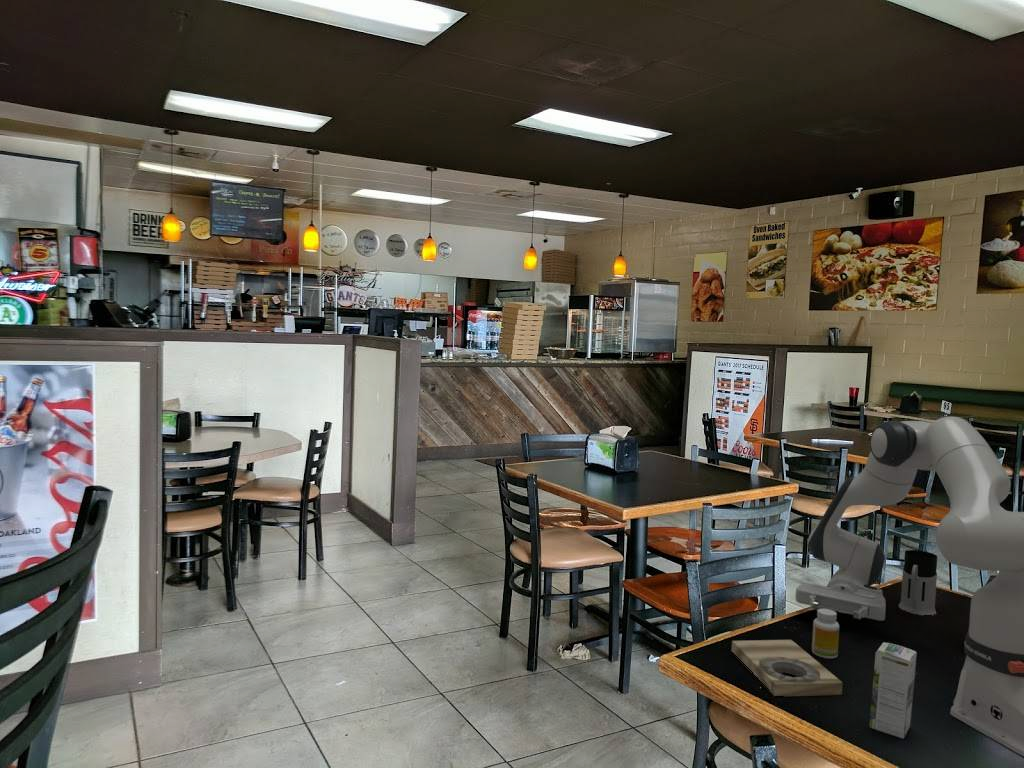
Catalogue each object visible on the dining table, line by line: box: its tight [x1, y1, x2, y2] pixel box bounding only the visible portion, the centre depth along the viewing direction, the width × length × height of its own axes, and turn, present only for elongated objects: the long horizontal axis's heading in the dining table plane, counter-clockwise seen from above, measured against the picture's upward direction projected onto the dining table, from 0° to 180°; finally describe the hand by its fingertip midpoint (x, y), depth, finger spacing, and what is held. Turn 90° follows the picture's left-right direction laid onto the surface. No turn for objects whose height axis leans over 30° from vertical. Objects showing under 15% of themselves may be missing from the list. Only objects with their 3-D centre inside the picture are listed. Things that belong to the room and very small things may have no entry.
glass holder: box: [898, 549, 938, 616], centre depth 185 cm, size 9×14×15 cm, turn 141°
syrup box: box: [869, 642, 918, 740], centre depth 128 cm, size 6×6×14 cm
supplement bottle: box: [811, 608, 840, 660], centre depth 158 cm, size 5×5×10 cm
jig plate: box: [731, 639, 843, 697], centre depth 149 cm, size 20×14×2 cm
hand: (835, 610), depth 168 cm, fingers open, 8 cm apart
